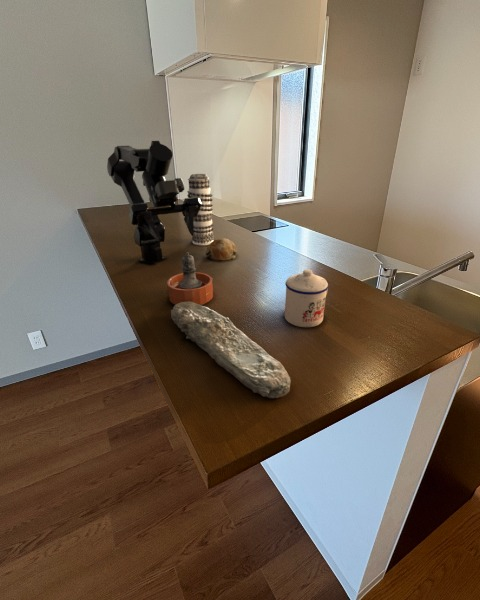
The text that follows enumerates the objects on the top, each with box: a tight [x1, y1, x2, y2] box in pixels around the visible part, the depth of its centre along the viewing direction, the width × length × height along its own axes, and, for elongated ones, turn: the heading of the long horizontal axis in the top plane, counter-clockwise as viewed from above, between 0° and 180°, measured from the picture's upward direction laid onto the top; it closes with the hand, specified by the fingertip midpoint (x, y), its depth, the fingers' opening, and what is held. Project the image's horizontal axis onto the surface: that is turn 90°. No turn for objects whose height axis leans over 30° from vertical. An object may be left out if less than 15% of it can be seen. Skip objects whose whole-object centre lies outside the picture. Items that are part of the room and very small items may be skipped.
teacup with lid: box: [284, 268, 329, 328], centre depth 71 cm, size 12×9×12 cm
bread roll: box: [205, 237, 237, 262], centre depth 109 cm, size 10×10×8 cm
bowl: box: [166, 271, 214, 306], centre depth 81 cm, size 11×11×5 cm
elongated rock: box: [170, 302, 292, 399], centre depth 62 cm, size 35×5×10 cm
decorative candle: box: [186, 173, 215, 246], centre depth 120 cm, size 9×9×25 cm
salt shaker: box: [178, 251, 202, 289], centre depth 79 cm, size 6×6×12 cm
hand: (176, 237), depth 83 cm, fingers open, 9 cm apart
